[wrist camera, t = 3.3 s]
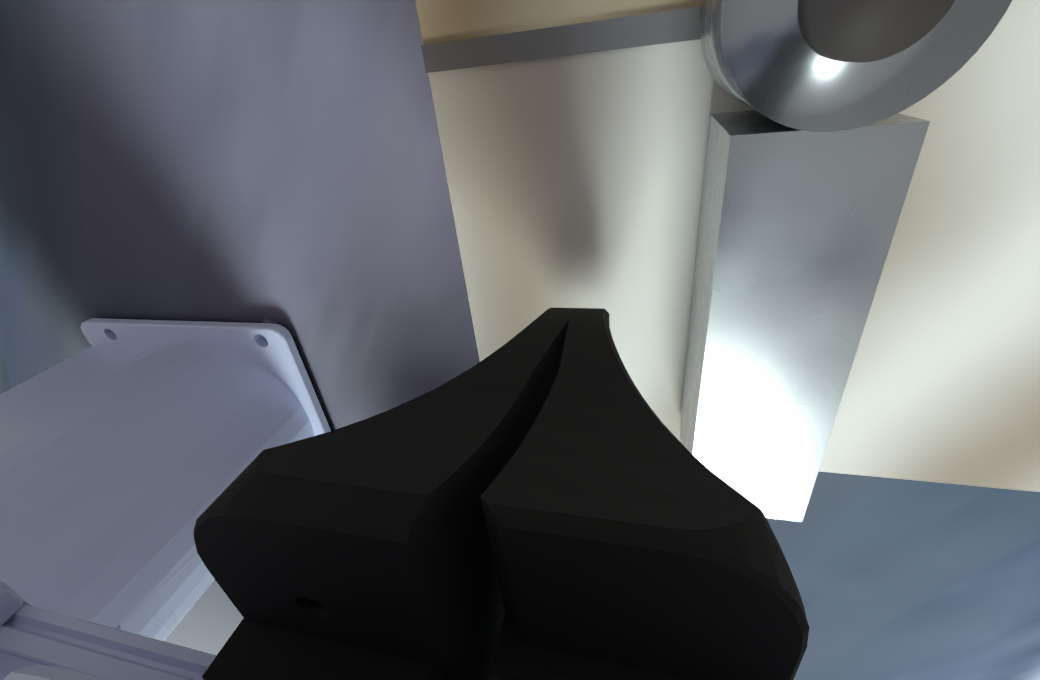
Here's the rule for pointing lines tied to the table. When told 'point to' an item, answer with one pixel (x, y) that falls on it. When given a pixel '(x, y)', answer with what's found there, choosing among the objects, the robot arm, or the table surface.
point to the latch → (797, 233)
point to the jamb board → (677, 204)
